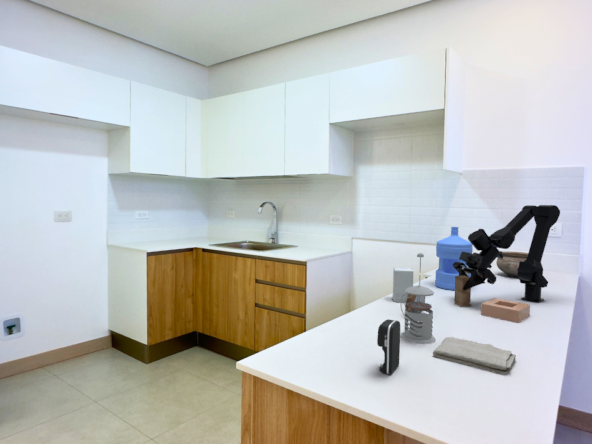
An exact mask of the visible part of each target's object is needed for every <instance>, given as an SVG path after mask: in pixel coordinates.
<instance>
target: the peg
mask: <svg viewBox="0 0 592 444" xmlns="http://www.w3.org/2000/svg"><path fill="white" fill-rule="evenodd" d="M469 278H470V277H468V276H464V275H463V276H455V290H454V299H453V300H454V301H453V302H454V305H457V306H458V307H460V308H461V307H470V306H471V295H472V293H471V292H472V291H471V290H472V288H469V289H467V290H463V287H464V285H465V284H466V282H467V281H468V280H469Z"/></svg>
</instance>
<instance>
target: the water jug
mask: <svg viewBox="0 0 592 444" xmlns="http://www.w3.org/2000/svg"><path fill="white" fill-rule="evenodd" d="M450 229H451V230H450V235H449V236H446V237H445V238H442V239H440V240H438V241H436V247H435V253H436V254H435V255H436V257H437V258H438V268H437V269H436V271H435V280H434V284H435V286H436V287H437V288H439V289H444V290H448V291H455V276H459V273H458V272H457V271H456V269H455V268H454V267H453V266H452V265H453V264H454V263H455V262H461V263H464V264H465V263H466V262H465V261H463V260H460V259H459V257H460V255H461V253H462V251H463V252H468V253H471V254H473V249H474V248H473V247H474V246H473V245H472V244H471V242H470V241H469V240H468V239H467V240H466V239H464V238H463V237H461V236H459V227H458V226H451V227H450ZM465 265H466V264H465ZM466 267H469V266H467V265H466ZM468 276H469V277H471V274H469V275H468Z"/></svg>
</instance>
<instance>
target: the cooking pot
mask: <svg viewBox="0 0 592 444" xmlns="http://www.w3.org/2000/svg"><path fill="white" fill-rule="evenodd" d="M528 253H529V252H523V251H502V255H503V258H496V267H497V269H499V270H500V271H501V272H502V273H503V274H506V275H507V276H508V277H511V278H518V279H519V276H518V271H517V269H518V267H519V263H520V261H522V262H524V261H525V260H526V259H527V256H528Z"/></svg>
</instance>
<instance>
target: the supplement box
mask: <svg viewBox="0 0 592 444" xmlns="http://www.w3.org/2000/svg"><path fill="white" fill-rule="evenodd" d="M392 275H393V278H392V279H393V280H392V281H393V282H392V300H393V303H394V302H395V303H404V304H406V303H405V298H406V300H407V297H406V296H407V294H408V293H407V292H406V291H405V290H406V289H407V288H409V287H412V286H414V270H413V269H412V268H410V267H407V268H406V267H393V274H392ZM406 293H407V294H406ZM404 294H405V295H404ZM403 295H404V296H403ZM408 295H409V294H408ZM402 296H403V298H402ZM401 298H402V300H401Z"/></svg>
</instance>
